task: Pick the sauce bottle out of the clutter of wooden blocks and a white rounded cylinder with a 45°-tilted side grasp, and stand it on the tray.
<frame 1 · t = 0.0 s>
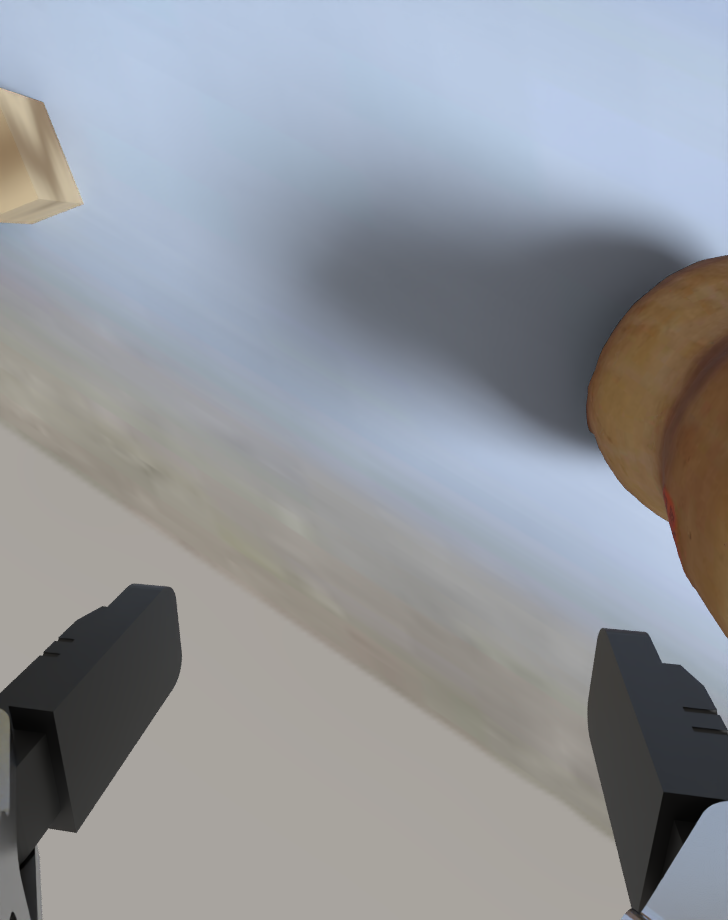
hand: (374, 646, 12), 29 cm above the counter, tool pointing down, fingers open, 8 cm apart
oak block: (38, 165, 39), on the counter
butternut squash: (691, 375, 37), on the counter
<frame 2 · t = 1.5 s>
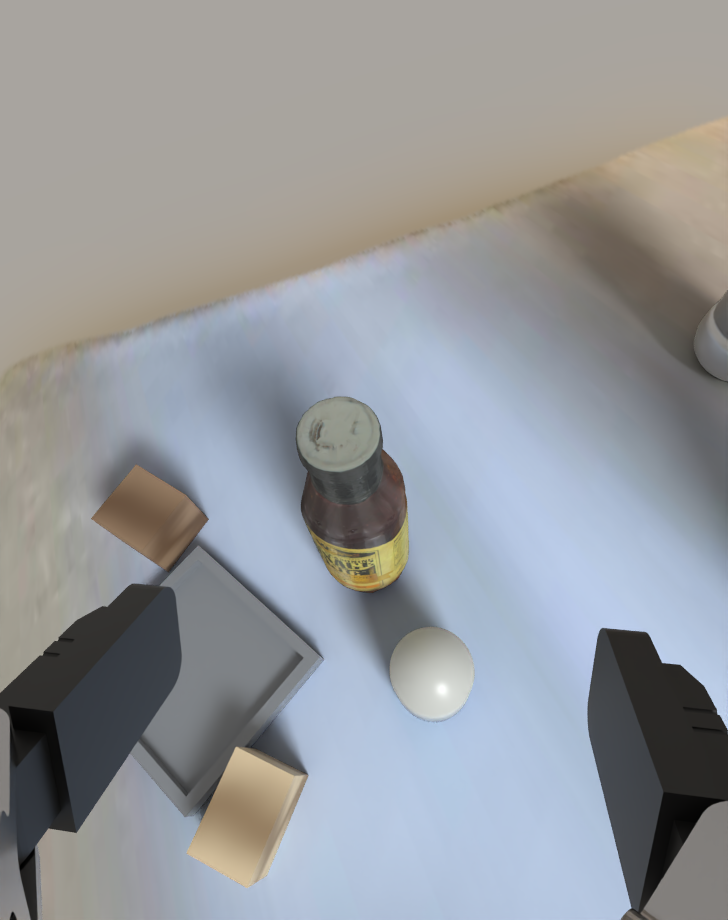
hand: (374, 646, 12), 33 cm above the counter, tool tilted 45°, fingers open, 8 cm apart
walnut block: (165, 530, 49), on the counter
oak block: (261, 809, 40), on the counter
sauce bottle: (370, 557, 47), on the counter
tray: (199, 671, 44), on the counter
plastic bottle: (727, 360, 51), on the counter
white rounded cylinder: (432, 682, 42), on the counter
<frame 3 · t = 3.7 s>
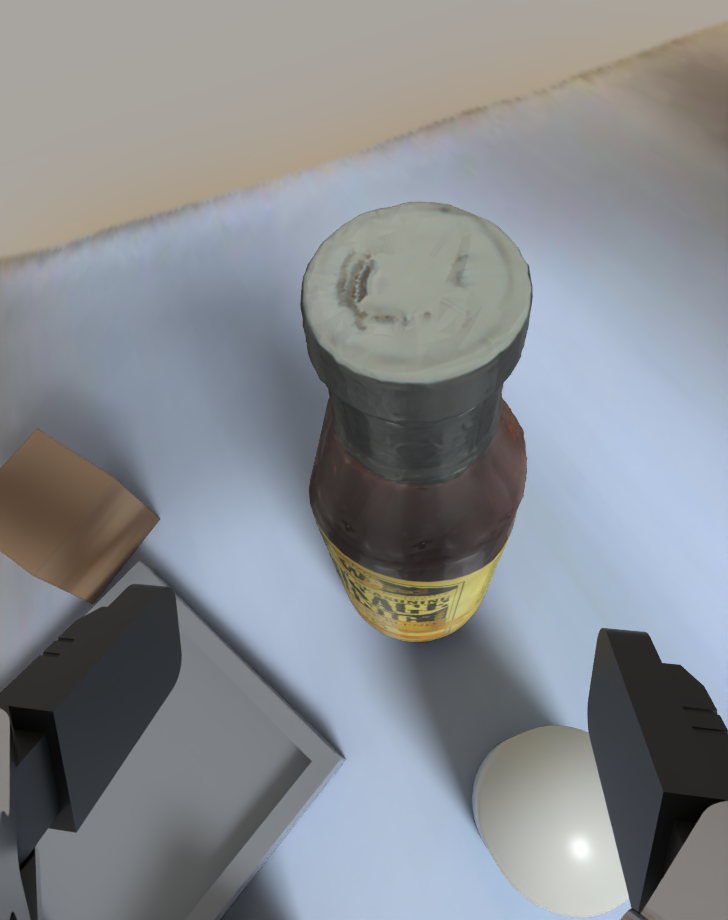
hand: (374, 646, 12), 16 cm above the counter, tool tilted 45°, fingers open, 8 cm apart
walnut block: (92, 536, 31), on the counter
sauce bottle: (420, 582, 29), on the counter
tray: (134, 776, 26), on the counter
white rounded cylinder: (537, 805, 24), on the counter
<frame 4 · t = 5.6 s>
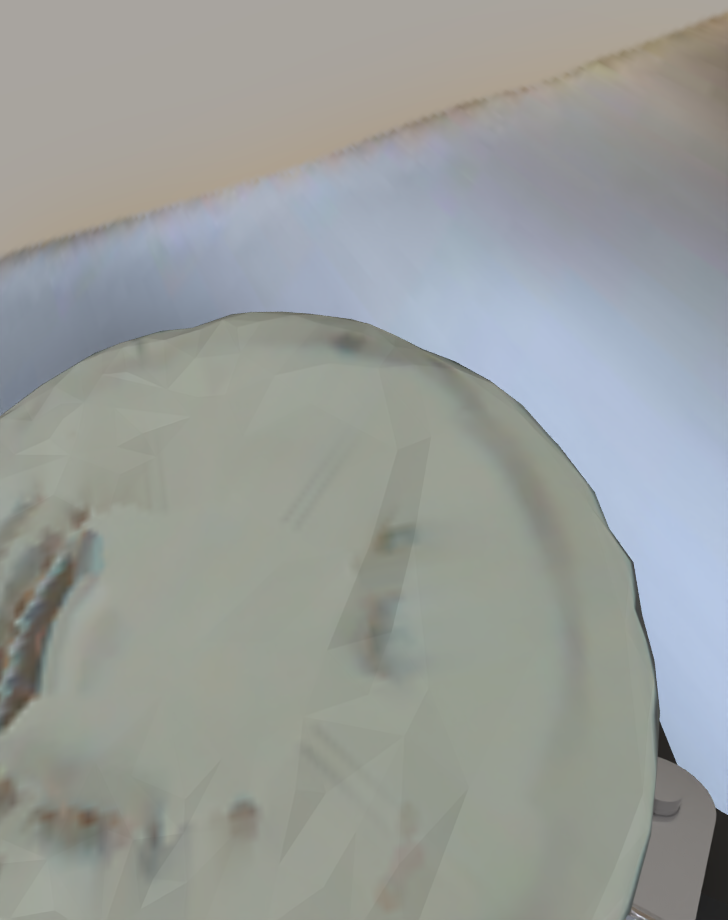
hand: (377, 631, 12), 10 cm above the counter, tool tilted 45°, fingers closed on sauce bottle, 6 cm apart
sauce bottle: (399, 744, 21), on the counter, touching gripper
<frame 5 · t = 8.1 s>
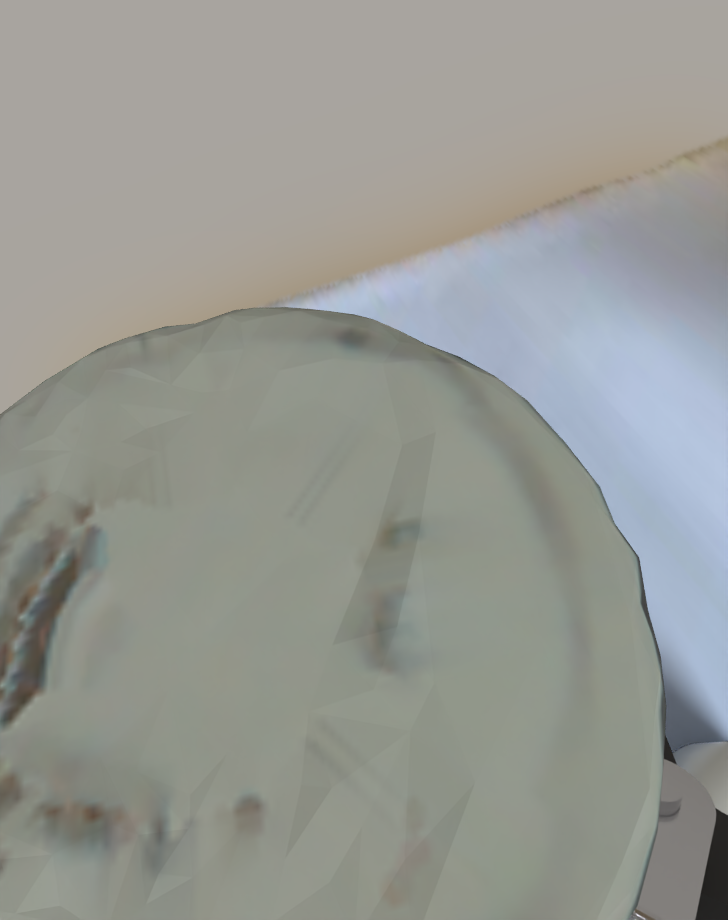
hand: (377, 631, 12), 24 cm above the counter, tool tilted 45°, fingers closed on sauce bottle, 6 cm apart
sauce bottle: (399, 743, 21), point 13 cm above the counter, touching gripper
white rounded cylinder: (713, 799, 30), on the counter
when the fingers open (12 cm above the counter, at t = 11.0 s): sauce bottle drops 1 cm, resting on tray.
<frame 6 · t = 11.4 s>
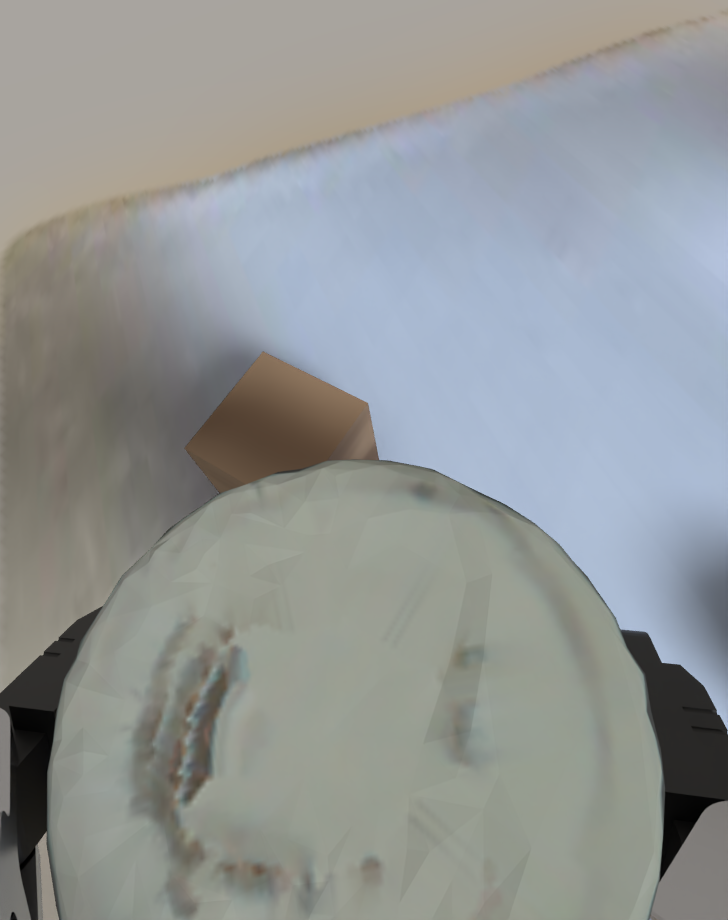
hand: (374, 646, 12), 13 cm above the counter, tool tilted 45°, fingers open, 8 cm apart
walnut block: (302, 481, 28), on the counter
sauce bottle: (409, 753, 22), resting on tray
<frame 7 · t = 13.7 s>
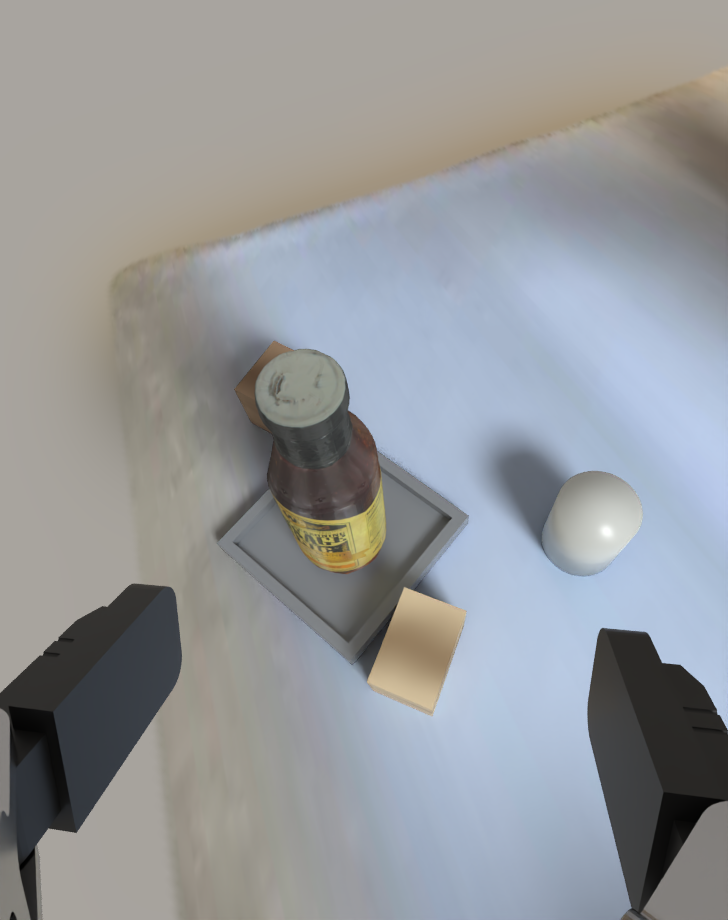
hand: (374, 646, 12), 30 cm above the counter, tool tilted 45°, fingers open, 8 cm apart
walnut block: (294, 412, 50), on the counter
oak block: (419, 658, 41), on the counter
sauce bottle: (346, 538, 44), resting on tray
tray: (343, 537, 45), on the counter
white rounded cylinder: (578, 540, 43), on the counter
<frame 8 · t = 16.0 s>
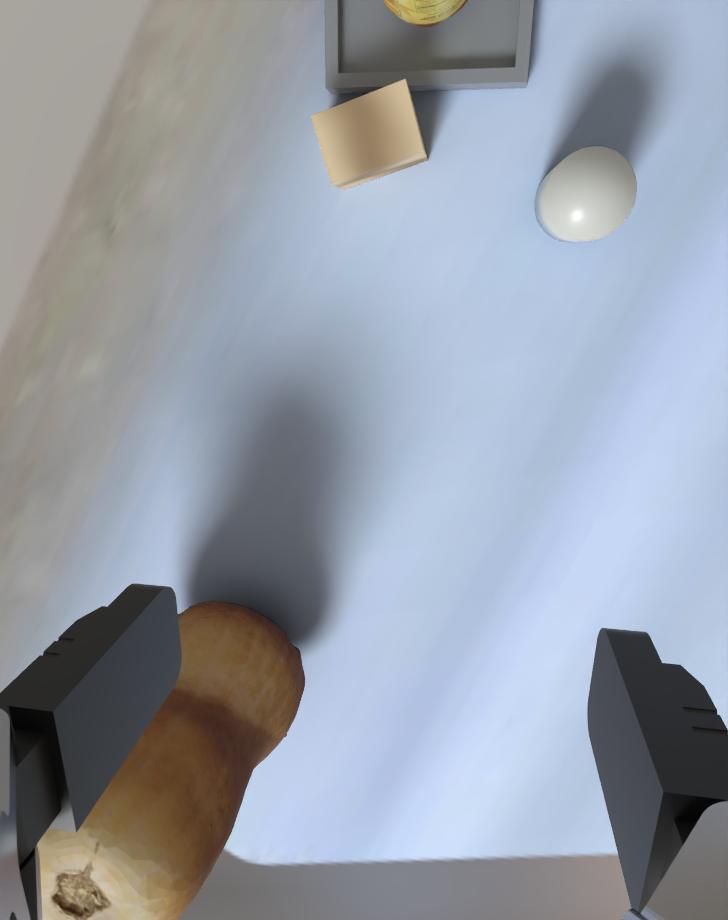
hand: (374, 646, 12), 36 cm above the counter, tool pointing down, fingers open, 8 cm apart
oak block: (377, 144, 42), on the counter
butternut squash: (243, 639, 57), on the counter
white rounded cylinder: (573, 201, 41), on the counter
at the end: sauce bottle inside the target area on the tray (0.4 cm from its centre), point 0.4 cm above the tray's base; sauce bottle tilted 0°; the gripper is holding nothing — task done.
